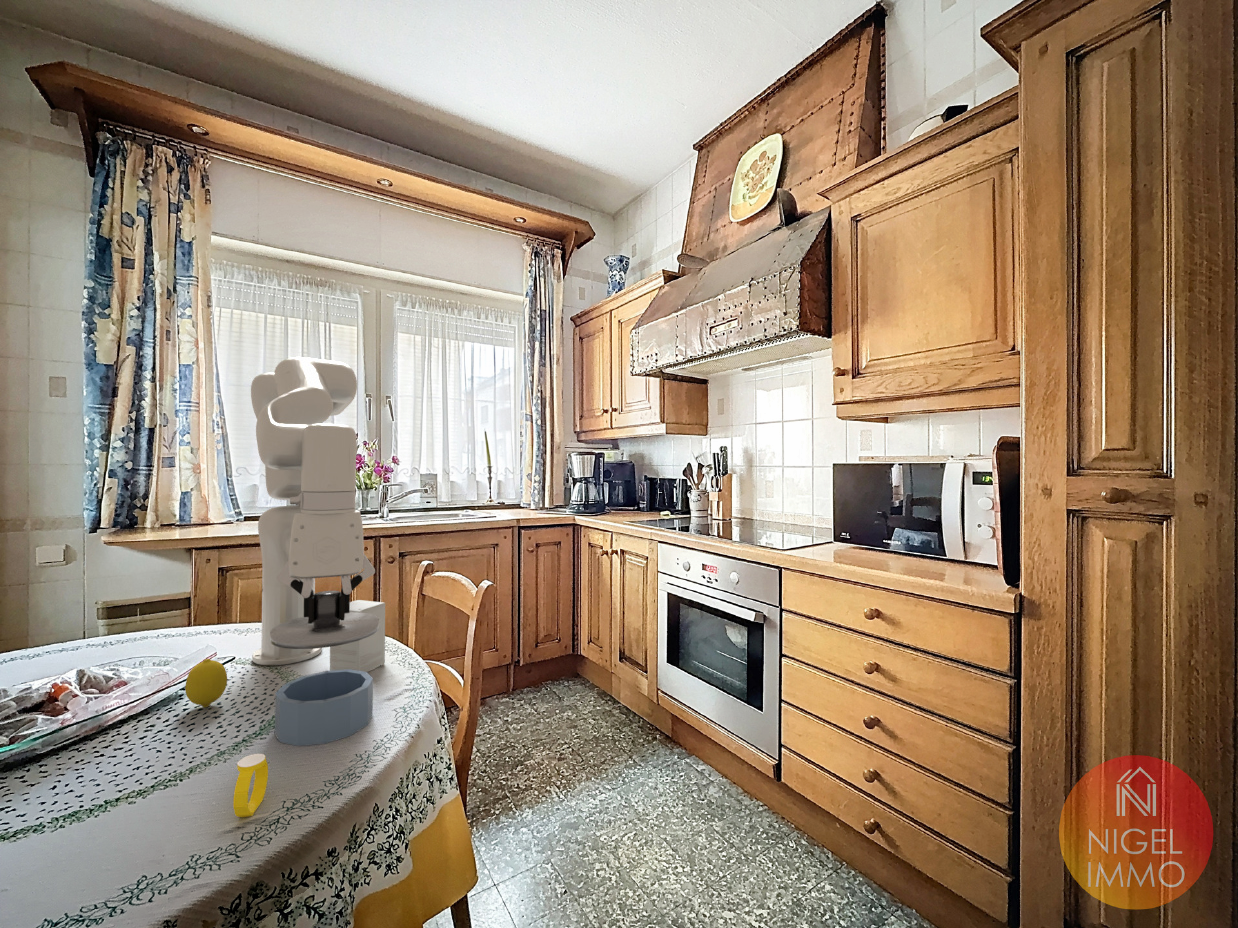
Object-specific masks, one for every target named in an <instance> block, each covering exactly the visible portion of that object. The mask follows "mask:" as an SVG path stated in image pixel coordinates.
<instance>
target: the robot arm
mask: <svg viewBox="0 0 1238 928" xmlns="http://www.w3.org/2000/svg"><path fill="white" fill-rule="evenodd" d="M357 391H358V381H357V376H356V374H355V371H354V370H353V368H351V366H350V365H349V364H346V363H344V362H342V361H335V360H327V359H318V358H311V357H301V356H296V357H295V356H294V357H288V358H285V359H283V360H281V361H280V362H278V364H277V365H276V367H275V369H274V372H264V373H261V374H258V375H257V376H255V377H254V378H253V380H252V381H251V385H250V399H251V405H252V409H253V412H254V415H255V418H256V424H255V437H256V445H257V449H258V450H257V451H258V455H259V458H260V461H261V463H262V464H263V465H264V466H265V467H264V468H265V471H264V472H265V488H266V492H267V493H268V495H269V496H270V498H271V499H274V500H278V501H279V500H280V501H289V504H290V505H282V506H281V505H280V506H276V507H272V508H269V509H267V510H265V511H264V512H263V513H262V514H261V515H260V516H259V519H258V522H257V529H258V530H257V531H258V538H259V545H260V551H261V565H262V566H261V567H262V573H261V574H262V577H261V579H262V584H261V585H262V586H261V587H262V589H261V648H259V649H257V650H255V651H254V653H252V655H251V656H252V657H251V661H252V662H253V663H255V664H256V665H260V666H282V665H290V664H295V663H300V662H303V661H306V660H309V659H311V658H312V659H313V658H315V657H316V656H318V655H320V654H321V652H322V651H323V648H315V649H288V648H281V647H277V646H274V645H272V644H271V643H270V631H271V630H272V629H273V628H274V627H276V626H277V625H279V624H282V623H284V622H287V621H290V620H294V619H298V618H302V617H308V624H311V623H312V622H314V594H315V593H316V589H315V588H316V579H320V578H335V577H336V578H337V577H340V580H341V586H342V587H341V590H340V597H339V620H344V618H345V613H349V612H350V602H351V596H350V595H351V593H352V591H354V590H355V589H356V588H357V587H358V586H359V585H360V584H361V583H362V582H364V581H366V580H367V579H369V578H371V576H373V575H375V573H376V569H375V567H374V566H373V564H372V563H371V561H370V560H369V559H368V557H367V555H366V554H365V544H364V527H363V520H362V515H361V511H360V510H357V509H356V489H357V488H356V486H357V484H356V480H357V477H356V476H357V473H356V471H357V467H356V466H357V455H358V454H357V453H358V443H357V433H356V430H354V428H353V427H351V426H350V425H346V424H336V423H324V422H326V421H327V420H328V419H329V417H330V416H338V415H340V414H341V413H343V412H344V411H345V409H347V408H348V407H349V405H351V403H352V402H353V400H354V399H355V397H356V395H357ZM351 576H353V577H352V578H351Z"/></svg>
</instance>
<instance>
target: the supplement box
mask: <svg viewBox="0 0 1238 928" xmlns="http://www.w3.org/2000/svg"><path fill="white" fill-rule="evenodd" d="M350 612H358V613H367V614H371V615H374V616H377V617H378V618H379V630H378V631H377V632H376V633H374V634H373V635H371V636H369V637H367V638H364V639H362V640H359V641H355V642H352V643H348V644H343V645H338V646H332V647H329V671H331V670H346V669H350V670H357V671H363V672H367V673H368V672H370V671H373V670H375V669H377V668H378V667H381V666H383V665H385V663H386V659H385V658H386V654H385V653H386V602H383V601H382V602H380V601H372V600H362V599H357V600H353V601H350ZM380 665H381V666H380ZM372 669H373V670H372Z"/></svg>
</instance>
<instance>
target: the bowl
mask: <svg viewBox="0 0 1238 928" xmlns="http://www.w3.org/2000/svg"><path fill="white" fill-rule="evenodd" d="M274 696H275V697H274V734H275V736H276V738H277V740H278V742H279V743H283V744H288V745H291V746H296V747H301V746H313V745H323V744H324V745H325V744H328V743H332V742H334V741H338V740H341V739H344V738H348V737H350V736H352V735H354V734H355V733H357V732H359V731H361V729H364V728H365V727H367V726H368V725H369V723H370V721H371V719H372V717H373V711H374V710H373V706H374V702H373V698H374V677H372V676H371V675H370V674H369V673H368V672H363V671H357V670H350V669H346V670H331V671H330V670H325V671H324V670H323V671H319V672H314V673H312V674H311V673H310V674H307V675H303V676H300V677H298V678H295V679H293V680H291V681H289V682H286V683H284V684H283V685H282V686H281V687H280V688H279V689H278V690H276V692H275V693H274Z"/></svg>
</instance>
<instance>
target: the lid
mask: <svg viewBox="0 0 1238 928" xmlns="http://www.w3.org/2000/svg"><path fill="white" fill-rule="evenodd" d="M340 592H341V590H340V591H339V590H324V591H323V590H322V591H319V592H315V594H314V622H312V623H311V624H308V617H302V618H298V619H294V620H290V621H287V622H284V623H282V624H279V625H277V626H276V627H274V628H273V629H272V630H271V631H270V643H271V644H272V645H274V646H277V647H281V648H288V649H315V648H322V649H323V648H330V647H332V646H338V645H343V644H348V643H352V642H355V641H359V640H362V639H364V638H367V637H369V636H371V635H373V634H374V633H376V632H377V631H378V630H379V618H378V617H377V616H374V615H371V614H367V613H358V612H349V613H345V618H344V620H339V597H340Z"/></svg>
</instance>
